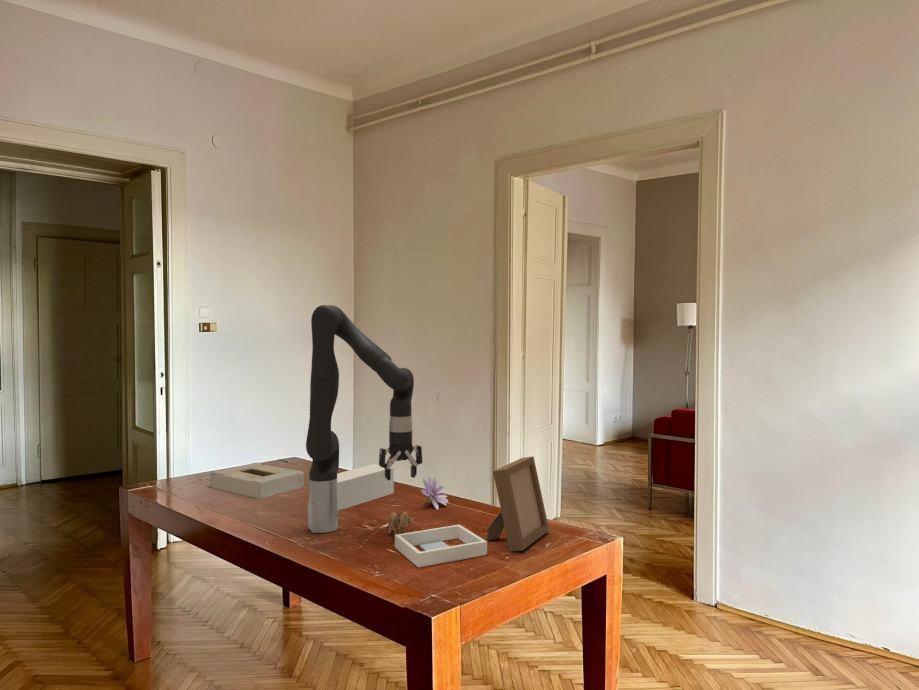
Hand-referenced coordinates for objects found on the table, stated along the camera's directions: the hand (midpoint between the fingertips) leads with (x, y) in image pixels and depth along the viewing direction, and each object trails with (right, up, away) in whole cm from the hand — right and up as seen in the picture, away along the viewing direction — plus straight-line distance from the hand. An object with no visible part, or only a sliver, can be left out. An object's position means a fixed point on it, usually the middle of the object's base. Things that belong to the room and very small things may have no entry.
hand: (400, 478), depth 218 cm
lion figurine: (-1, -19, 0) cm, 19 cm away
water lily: (+10, -17, +34) cm, 39 cm away
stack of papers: (-21, -17, +42) cm, 50 cm away
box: (-66, -17, +62) cm, 92 cm away
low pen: (+13, -19, -15) cm, 28 cm away
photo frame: (+37, -19, -4) cm, 42 cm away
